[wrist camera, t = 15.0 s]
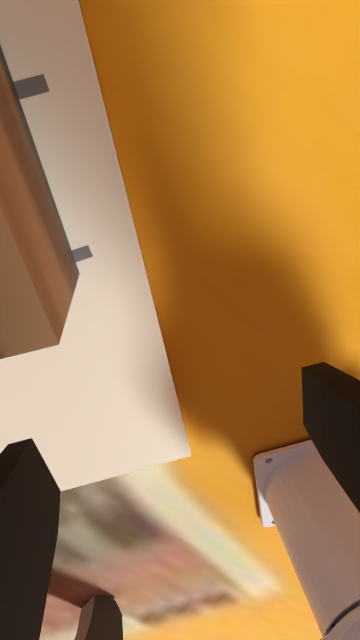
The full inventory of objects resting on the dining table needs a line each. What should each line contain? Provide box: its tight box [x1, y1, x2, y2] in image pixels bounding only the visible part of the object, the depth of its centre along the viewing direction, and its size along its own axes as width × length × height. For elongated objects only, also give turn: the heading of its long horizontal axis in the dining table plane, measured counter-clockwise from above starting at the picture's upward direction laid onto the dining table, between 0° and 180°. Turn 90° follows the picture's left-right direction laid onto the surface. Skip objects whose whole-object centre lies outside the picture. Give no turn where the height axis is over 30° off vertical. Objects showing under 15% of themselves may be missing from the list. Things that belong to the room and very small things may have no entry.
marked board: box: [0, 0, 192, 491], centre depth 15 cm, size 10×24×2 cm, turn 11°
